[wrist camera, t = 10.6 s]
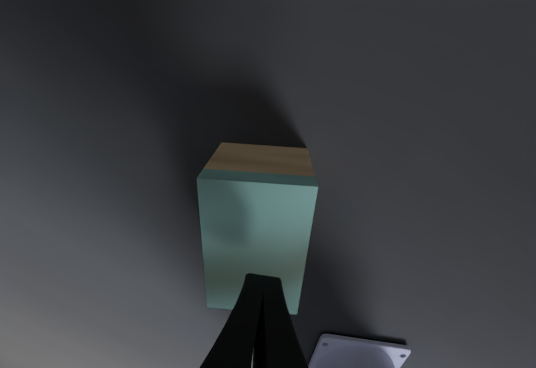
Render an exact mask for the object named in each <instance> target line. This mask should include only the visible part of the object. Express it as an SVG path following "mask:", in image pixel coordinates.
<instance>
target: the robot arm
mask: <svg viewBox="0 0 536 368" xmlns="http://www.w3.org/2000/svg"><path fill="white" fill-rule="evenodd" d="M253 347H254V350H253ZM410 353H411V351H410V348H409V347H408V346H407V345H401V344H394V343H387V342H381V341H374V340H367V339H360V338H353V337H346V336H340V335H333V334H322V335H321V336H320V339H319V341H318V343H317V346H316V348H315V351H314V353H313V355H312V358H311V360H310V363H309V365H307V363H306V360H305V357H304V355H303V352H302V350H301V347H300V344H299V342H298V339H297V336H296V333H295V330H294V327H293V324H292V321H291V318H290V315H289V311H288V308H287V304H286V300H285V296H284V292H283V287H282V281H281V279H280V278H279V277H273V276H266V275H259V274H253V273H248V274H246V276H245V280H244V284H243V287H242V289H241V292H240V295H239V297H238V299H237V301H236V304H235V306H234V308H233V310H232V312H231V314H230V316H229V318H228V320H227V322H226V324H225V326H224V328H223V329H222V331H221V333H220V335H219V336H218V338H217V340H216V342H215V343H214V345H213V347H212V349H211V350H210V352H209V354H208V355H207V357H206V358H205V360H204V362H203V363H202V365H201V366H200V368H251V361H252V354H253V368H400V367H401V365H402V364H403V363H404V361H405V360H406V358H407V357H408V356H409V354H410Z"/></svg>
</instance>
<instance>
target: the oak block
mask: <svg viewBox="0 0 536 368" xmlns="http://www.w3.org/2000/svg"><path fill="white" fill-rule="evenodd" d="M197 190H198V202H199V214H200V226H201V238H202V250H203V262H204V274H205V286H206V298H207V308H220V309H232V310H233V308H234V306H235V304H236V301H237V299H238V297H239V295H240V292H241V289H242V287H243V284H244V280H245V276H246V274H248V273H253V274H259V275H266V276H273V277H279V278H280V279H281V281H282V287H283V292H284V296H285V300H286V304H287V308H288V311H289V314H296V315H297V312H298V306H299V300H300V294H301V288H302V282H303V276H304V270H305V264H306V258H307V251H308V245H309V239H310V233H311V227H312V221H313V215H314V209H315V203H316V197H317V191H318V184H317V181H316V177H315V174H314V170H313V167H312V163H311V160H310V156H309V153H308V150H307V148H296V147H281V146H266V145H252V144H237V143H223V142H222V143H221V144H220V145H219V147H218V148H217V150H216V151H215V153H214V154H213V155H212V157H211V158H210V160H209V161H208V163H207V164H206V165H205V167H204V168H203V170H202V171H201V173H200V174H199V175H198V177H197Z"/></svg>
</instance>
